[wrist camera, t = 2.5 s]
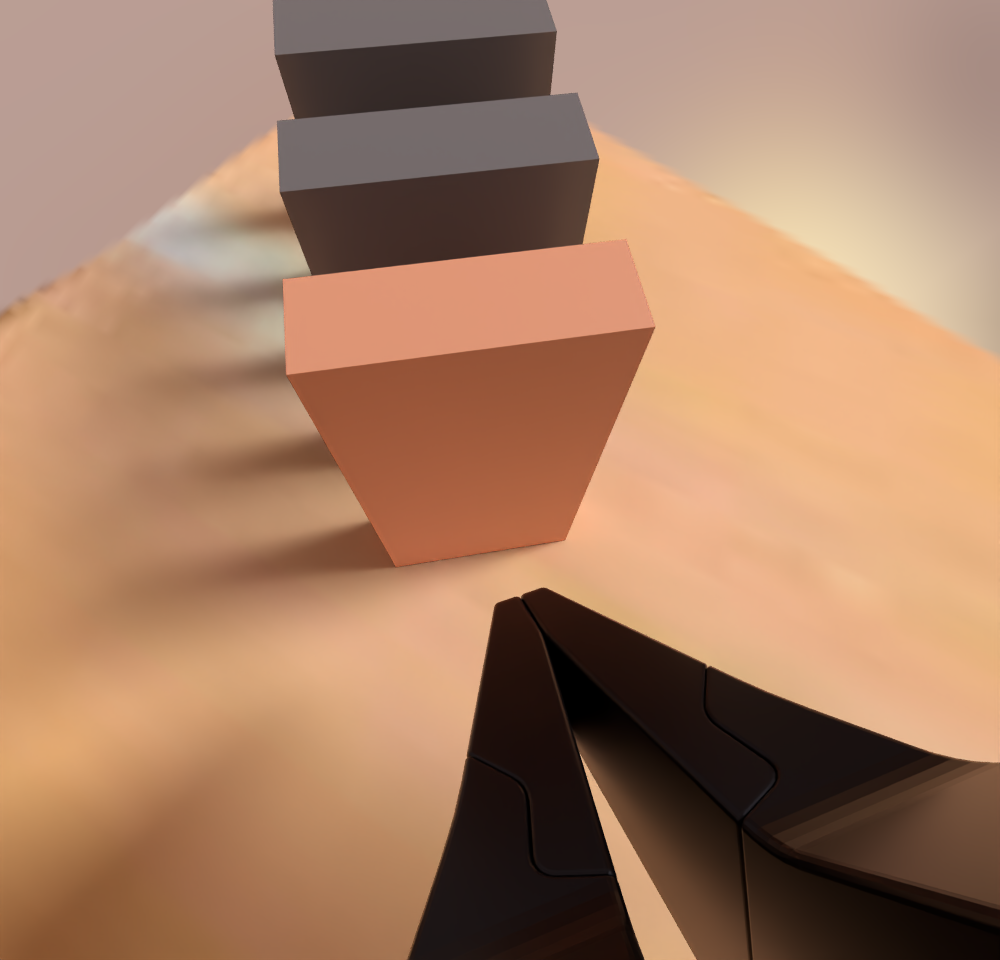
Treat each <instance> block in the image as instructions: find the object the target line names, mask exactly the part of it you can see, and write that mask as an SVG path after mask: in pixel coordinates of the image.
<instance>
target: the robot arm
mask: <svg viewBox="0 0 1000 960" xmlns="http://www.w3.org/2000/svg"><path fill="white" fill-rule="evenodd" d="M579 752H580V753H579ZM580 754H581V756H582V758H583V759H584V761H585V763H586V765H587V766H588V768H589V770H590V772H591V773H592V775H593V777H594V779H595V781H596V782H597V784H598V786H599V788H600V789H601V791H602V793H603V795H604V796H605V798H606V800H607V802H608V804H609V805H610V807H611V809H612V811H613V812H614V814H615V816H616V818H617V819H618V821H619V823H620V825H621V826H622V828H623V830H624V832H625V834H626V835H627V837H628V839H629V841H630V842H631V844H632V846H633V848H634V849H635V851H636V853H637V855H638V857H639V858H640V860H641V862H642V864H643V865H644V867H645V869H646V871H647V872H648V874H649V876H650V878H651V880H652V881H653V883H654V885H655V887H656V888H657V890H658V892H659V894H660V895H661V897H662V899H663V901H664V903H665V904H666V906H667V908H668V910H669V911H670V913H671V915H672V917H673V918H674V920H675V922H676V924H677V926H678V927H679V929H680V931H681V933H682V934H683V936H684V938H685V940H686V941H687V943H688V945H689V947H690V949H691V950H692V952H693V954H694V956H695V957H696V959H697V960H1000V763H990V762H976V761H968V760H962V759H956V758H952V757H948V756H944V755H940V754H936V753H933V752H930V751H926V750H923V749H920V748H917V747H914V746H912V745H909V744H906V743H903V742H901V741H898V740H895V739H892V738H890V737H887V736H884V735H881V734H879V733H876V732H873V731H870V730H868V729H865V728H862V727H860V726H857V725H854V724H851V723H849V722H846V721H843V720H840V719H838V718H835V717H832V716H829V715H827V714H824V713H821V712H819V711H816V710H813V709H810V708H808V707H805V706H803V705H800V704H797V703H795V702H792V701H790V700H787V699H785V698H782V697H779V696H777V695H774V694H772V693H769V692H767V691H764V690H762V689H760V688H758V687H755V686H753V685H751V684H749V683H746V682H744V681H742V680H740V679H737V678H735V677H733V676H731V675H729V674H727V673H724V672H722V671H720V670H718V669H716V668H714V667H712V666H709V667H708V668H707V665H706V664H705V663H703V662H701V661H699V660H697V659H695V658H692V657H690V656H688V655H686V654H684V653H682V652H680V651H678V650H676V649H673V648H671V647H669V646H667V645H665V644H663V643H661V642H659V641H657V640H655V639H652V638H650V637H648V636H646V635H644V634H642V633H640V632H638V631H636V630H633V629H631V628H629V627H627V626H625V625H623V624H621V623H619V622H617V621H615V620H612V619H610V618H608V617H606V616H604V615H602V614H600V613H598V612H596V611H593V610H591V609H589V608H587V607H585V606H583V605H581V604H579V603H577V602H575V601H572V600H570V599H568V598H566V597H564V596H562V595H560V594H558V593H556V592H553V591H551V590H549V589H547V588H539V589H536V590H534V591H531V592H528V593H525V594H523V595H522V596H521V598H519V597H513V598H510V599H507V600H504V601H501V602H499V603H497V604H496V605H495V607H494V612H493V617H492V622H491V628H490V633H489V638H488V644H487V649H486V654H485V660H484V665H483V671H482V676H481V681H480V687H479V692H478V697H477V703H476V708H475V713H474V719H473V724H472V730H471V735H470V740H469V746H468V751H467V759H466V761H465V766H464V771H463V776H462V782H461V786H460V791H459V795H458V799H457V804H456V808H455V813H454V817H453V820H452V824H451V827H450V830H449V834H448V837H447V840H446V844H445V847H444V850H443V854H442V857H441V860H440V863H439V866H438V869H437V872H436V875H435V878H434V881H433V884H432V887H431V890H430V893H429V896H428V899H427V902H426V905H425V908H424V911H423V914H422V917H421V920H420V923H419V926H418V929H417V932H416V935H415V938H414V941H413V944H412V947H411V950H410V953H409V956H408V959H407V960H644V957H643V954H642V952H641V949H640V947H639V944H638V941H637V938H636V936H635V933H634V930H633V927H632V924H631V921H630V918H629V915H628V912H627V909H626V905H625V902H624V899H623V896H622V892H621V889H620V886H619V883H618V881H617V876H616V873H615V869H614V866H613V863H612V859H611V856H610V853H609V849H608V846H607V843H606V839H605V836H604V833H603V830H602V826H601V823H600V820H599V816H598V813H597V810H596V806H595V803H594V800H593V796H592V793H591V790H590V786H589V783H588V780H587V776H586V773H585V770H584V766H583V763H582V760H581V757H580Z"/></svg>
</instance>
